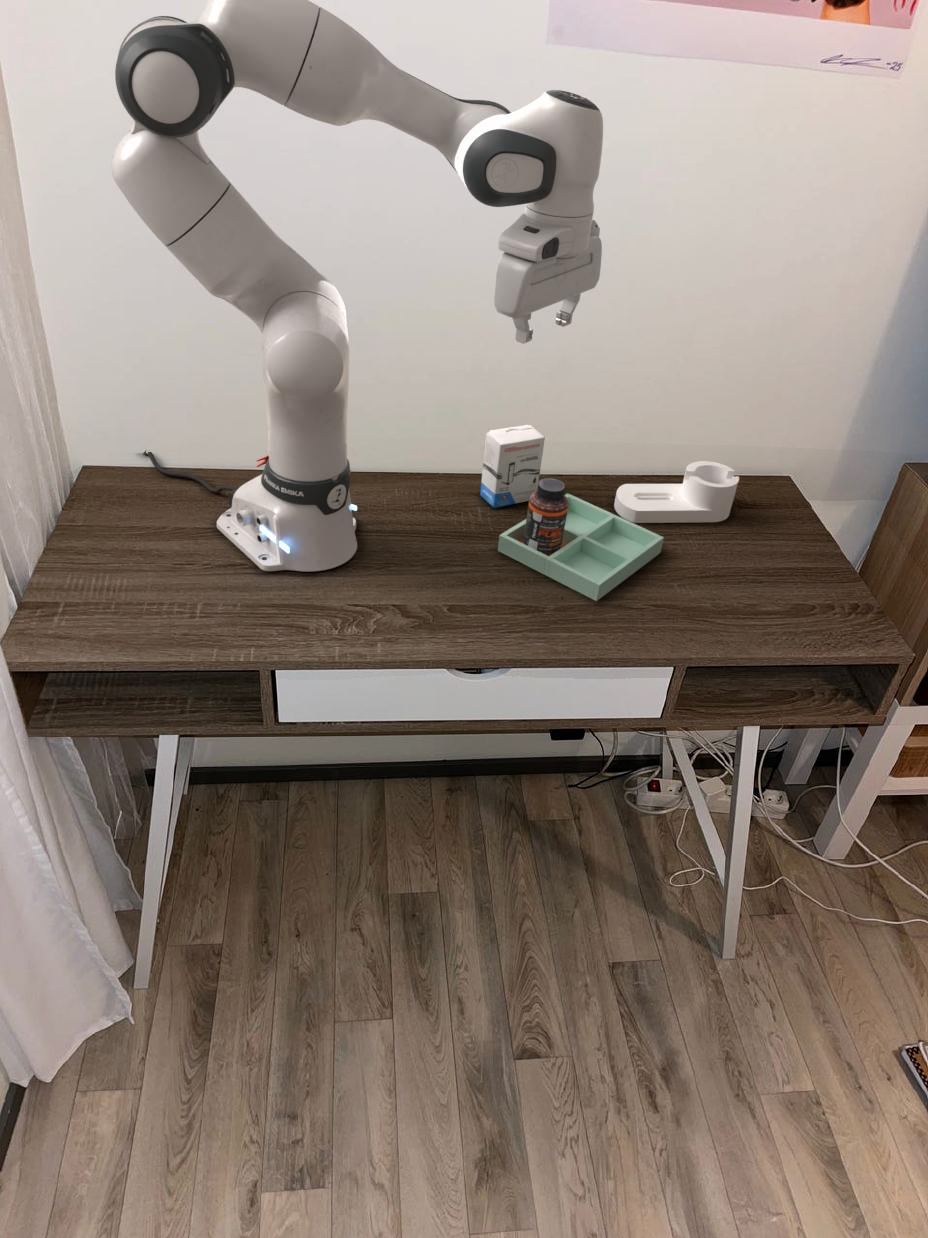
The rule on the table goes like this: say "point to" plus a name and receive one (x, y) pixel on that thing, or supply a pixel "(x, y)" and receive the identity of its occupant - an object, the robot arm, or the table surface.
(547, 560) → the organiser
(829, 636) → the table surface
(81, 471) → the table surface
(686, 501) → the bracket
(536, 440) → the ink box
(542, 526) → the supplement bottle
